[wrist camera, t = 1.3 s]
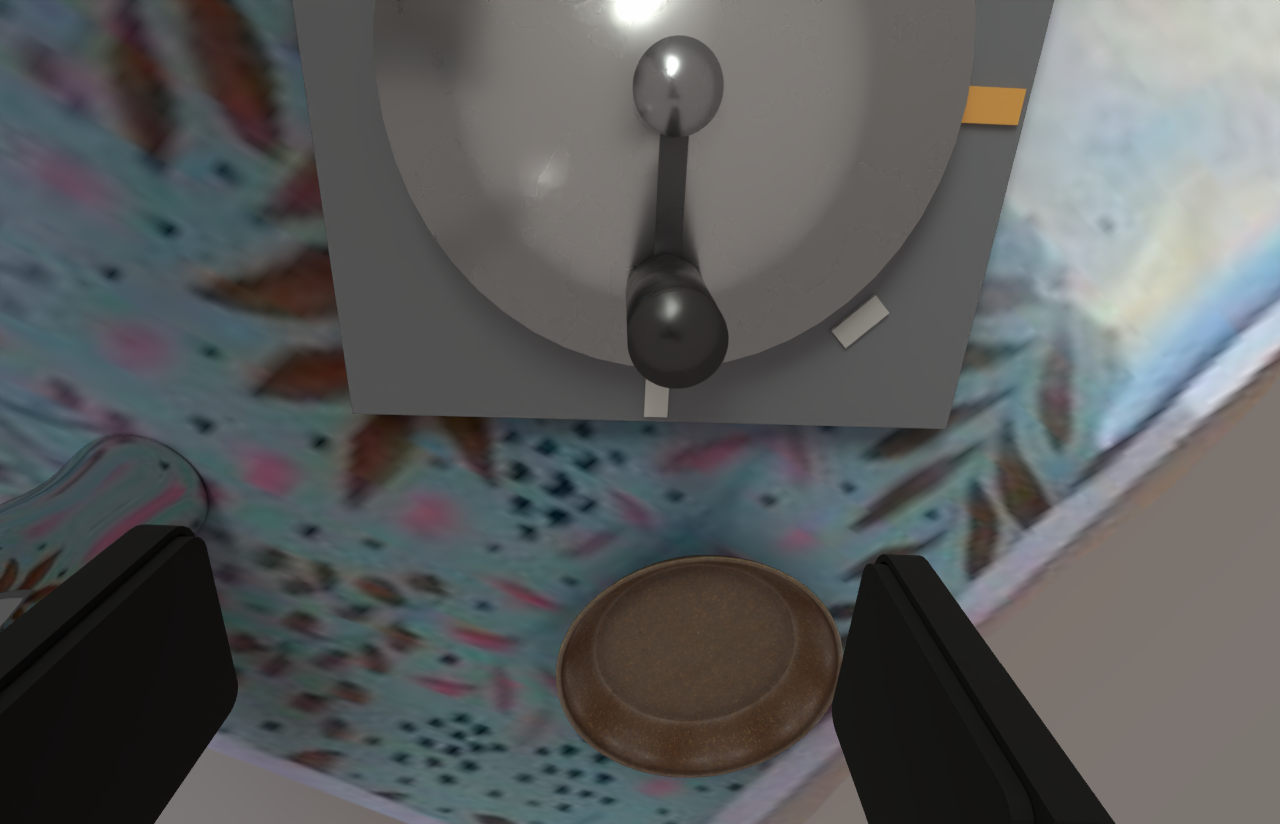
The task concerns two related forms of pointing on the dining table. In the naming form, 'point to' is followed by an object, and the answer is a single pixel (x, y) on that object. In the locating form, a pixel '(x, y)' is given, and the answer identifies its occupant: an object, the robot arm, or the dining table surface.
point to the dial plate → (602, 390)
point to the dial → (672, 158)
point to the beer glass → (90, 514)
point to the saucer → (699, 666)
